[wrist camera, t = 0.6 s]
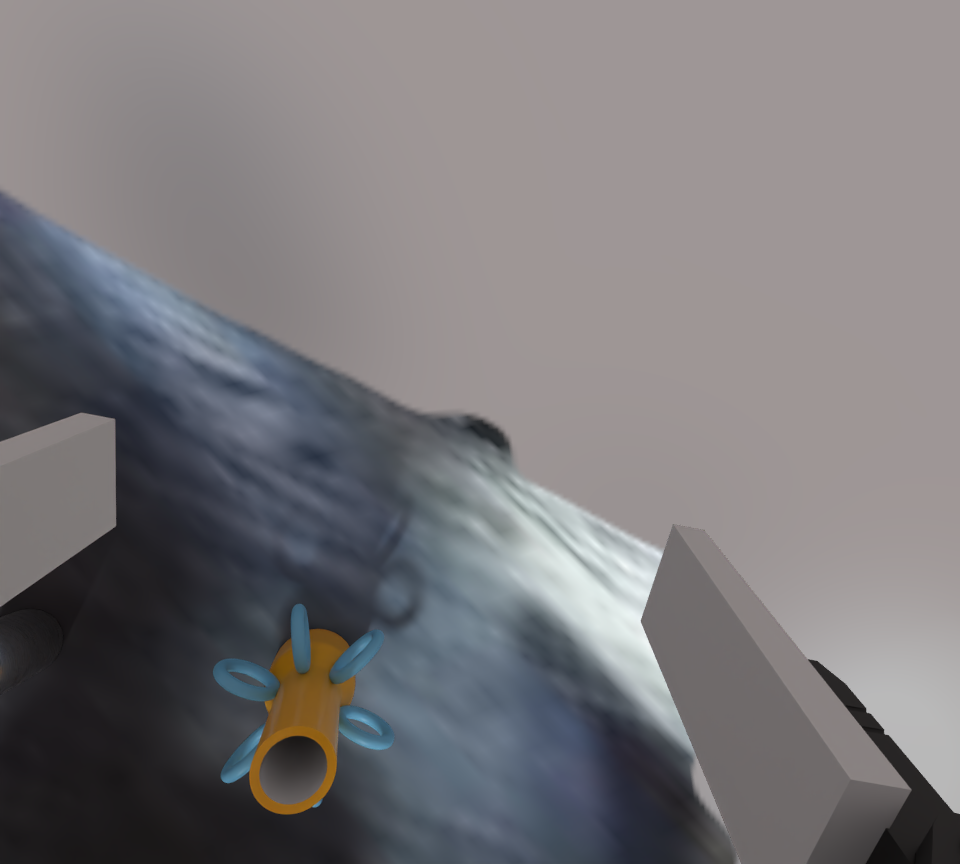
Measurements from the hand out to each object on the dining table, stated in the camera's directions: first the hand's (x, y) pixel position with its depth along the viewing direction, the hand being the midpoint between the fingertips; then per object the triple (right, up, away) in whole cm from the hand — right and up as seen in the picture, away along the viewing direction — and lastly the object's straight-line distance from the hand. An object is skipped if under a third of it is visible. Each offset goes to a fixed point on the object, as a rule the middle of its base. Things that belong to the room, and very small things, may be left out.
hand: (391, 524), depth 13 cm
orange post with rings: (-10, -16, +28) cm, 34 cm away
